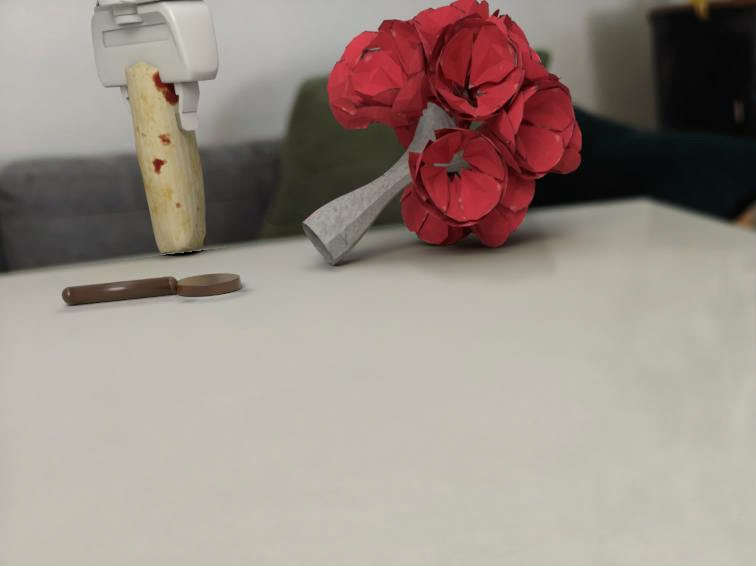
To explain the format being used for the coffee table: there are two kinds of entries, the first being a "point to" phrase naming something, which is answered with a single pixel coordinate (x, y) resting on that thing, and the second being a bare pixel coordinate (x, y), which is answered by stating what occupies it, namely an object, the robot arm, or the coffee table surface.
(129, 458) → the coffee table surface
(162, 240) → the food model
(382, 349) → the coffee table surface
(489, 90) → the bouquet
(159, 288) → the spoon
